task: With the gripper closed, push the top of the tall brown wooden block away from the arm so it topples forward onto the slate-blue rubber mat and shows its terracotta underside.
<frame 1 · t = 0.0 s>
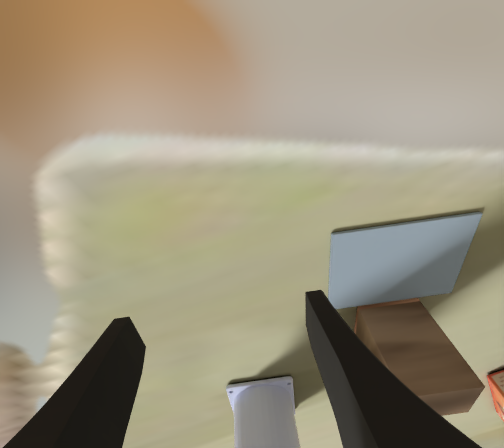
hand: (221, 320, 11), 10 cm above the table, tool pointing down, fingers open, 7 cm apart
brown wooden block: (384, 315, 28), on the table
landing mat: (396, 264, 25), on the table
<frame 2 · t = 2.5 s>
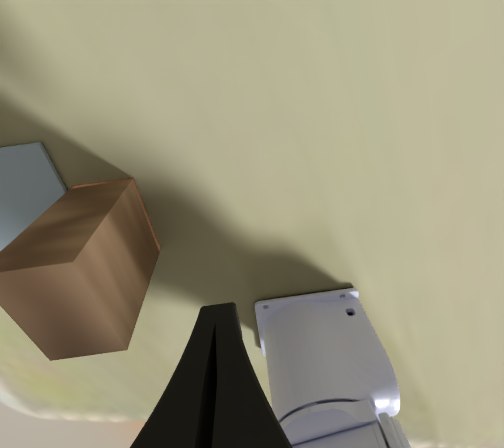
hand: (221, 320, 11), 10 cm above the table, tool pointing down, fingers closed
brown wooden block: (120, 220, 20), on the table
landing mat: (22, 233, 20), on the table
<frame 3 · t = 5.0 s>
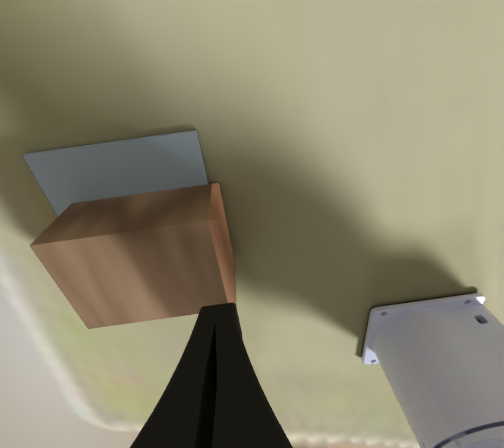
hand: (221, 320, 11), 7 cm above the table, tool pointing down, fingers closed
brown wooden block: (227, 245, 16), point 2 cm above the table, tilted 90°, touching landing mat
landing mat: (147, 234, 18), on the table
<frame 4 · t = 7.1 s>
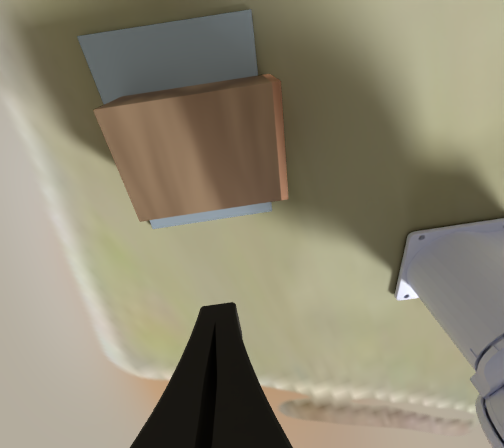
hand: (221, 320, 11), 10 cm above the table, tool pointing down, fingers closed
brown wooden block: (278, 136, 16), point 2 cm above the table, tilted 90°, touching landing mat
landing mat: (193, 138, 18), on the table
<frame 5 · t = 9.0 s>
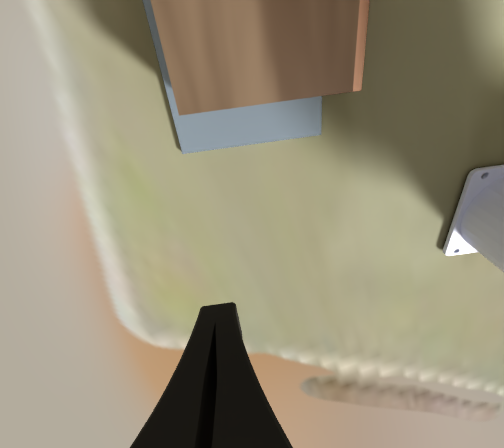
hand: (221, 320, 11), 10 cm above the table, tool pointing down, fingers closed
brown wooden block: (350, 13, 13), point 2 cm above the table, tilted 90°, touching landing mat
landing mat: (238, 31, 15), on the table
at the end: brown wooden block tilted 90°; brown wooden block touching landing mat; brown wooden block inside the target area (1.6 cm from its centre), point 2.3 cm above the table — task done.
